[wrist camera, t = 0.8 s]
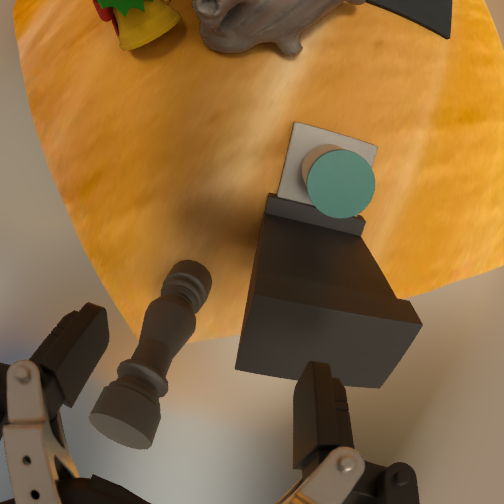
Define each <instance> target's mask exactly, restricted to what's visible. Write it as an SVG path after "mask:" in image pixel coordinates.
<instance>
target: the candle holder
mask: <svg viewBox="0 0 504 504" xmlns="http://www.w3.org/2000/svg"><path fill="white" fill-rule="evenodd" d="M211 284H212V279H211V276H210V273H209V272H208V270H207V269H206V268H205V267H204V266H203V265H201V264H199V263H198V262H195V261H191V260H185V261H180V262H178V263H177V264H175V265H174V266H173V268H172V269H171V271H170V273H169V274H168V276H167V277H166V279H165V281H164V283H163V287H162V289H161V297H159V298H157V299H155V300H154V301H152V302H151V303H150V305H149V306H148V308H147V310H146V312H145V317H144V321H143V326H142V330H141V335H140V340H139V345H138V346H137V348H136V350H135V352H134V354H133V356H132V358H131V359H128V360H125V361H123V362H121V363H120V365H119V367H118V369H117V374H118V377H119V378H118V379H117V380H116V381H113V382H111V383H110V384H109V386H106V387H104V389H103V391H102V392H101V394H100V396H99V398H98V400H97V402H96V404H95V406H94V408H93V410H92V412H91V414H90V416H89V420H90V422H91V424H92V425H93V426H94V427H95V428H96V429H97V430H98V431H99V432H101V433H102V434H103V435H105V436H106V437H108V438H110V439H112V440H114V441H115V442H117V443H120V444H122V445H125V446H127V447H131V448H135V449H148V448H149V447H151V445H152V442H153V439H154V436H155V433H156V430H157V428H158V425H159V422H160V419H161V415H160V403H159V397H163V396H164V395H165V394H166V393H167V392H168V381H167V380H166V374H167V371H168V369H169V366H170V364H171V362H172V359H173V358H174V356H175V355H176V354H177V353H178V352H179V350H180V349H181V348H182V347H183V345H184V344H185V343H186V342H187V341H188V339H189V338H190V337H191V336H192V334H193V333H194V331H195V326H196V317H195V313H197V312H198V311H199V310H200V308H201V307H202V306H203V304H204V303H205V301H206V299H207V297H208V294H209V292H210V289H211Z"/></svg>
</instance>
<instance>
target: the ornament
mask: <svg viewBox="0 0 504 504" xmlns="http://www.w3.org/2000/svg"><path fill="white" fill-rule="evenodd" d="M169 2H170V0H93V3H94V5H95V8H96V10H97V12H98V14H99V16H100V18H101V19H102V20H103V21H106V22H108V21H110V20H111V19H112V23H113V26H114V28H115V31H116V33H117V36H118V38H119V41H120V47H121V49H122V50H124V51H127V50H132V49H135V48H137V47H140V46H142V45H144V44H146V43H148V42H150V41H152V40H154V39H156V38H158V37H159V36H161V35H162V34H164V33H165V32H167V31H168V30H170V29H171V28H172V27H174V26H175V25H176V24H177V23H178V22H179V20H180V19H181V15H180V14H179V12H177V11H175V10H174V9H173V8H172V7H171V6H168V5H167V4H168V3H169ZM113 13H114V14H113Z"/></svg>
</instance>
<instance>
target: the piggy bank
mask: <svg viewBox="0 0 504 504" xmlns="http://www.w3.org/2000/svg"><path fill="white" fill-rule="evenodd" d="M344 1H346V2H348V3H351V4H354V5H361V4H363V3H364V2H365V1H366V0H194V1H193V2H192V4H193V6H192V7H193V8H194V11H195V12H196V14H197V17H198V19H199V20H200V27H199V29H200V35H201V37H202V39H203V40H204V42H205V44H207V46H208V47H209V48H210V49H212V50H213V51H219V52H223V53H228V54H232V53H240V52H244V51H247V50H249V49H251V48H253V47H254V46H255V45H257V44H259V43H265V42H274V43H275V44H276V45H278V47H279V49H280V50H281V51H282V52H283V53H284V54H286V55H288V56H295V55H297V54H299V53H300V52H301V51H302V46H301V44H300V40H299V36H300V34H301V33H302V32H303V31H305V30H306V29H308V28H309V27H311V26H313V25H314V24H315V23H317V22H318V21H320V20H321V19H322V18H323V17H325V16H326V15H327V14H328V13H329V12H330V11H331V10H333V9H334V8H335V7H337V6H338V5H339V4H341V3H342V2H344Z"/></svg>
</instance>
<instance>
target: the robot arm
mask: <svg viewBox="0 0 504 504" xmlns="http://www.w3.org/2000/svg"><path fill="white" fill-rule="evenodd" d="M108 343H109V328H108V320H107V312H106V309H105V308H103V307H101V306H98V305H95V304H92V303H89V302H88V303H86V304H85V305H84V306H83V307H82V309H81V310H80V311H79V312H77V311H75V310H74V311H73V312H71V313H69V314H67V315H66V316H64V317H63V318H62V320H61V321H60V322H59V323H58V324H57V327H55V328H54V329H53V330H52V331H51V334H49V335H48V336H47V338H46V339H45V340H44V341H43V342H42V344H41V345H40V346H39V348H38V349H37V350H36V352H35V353H34V354H33V355H32V357H31V358H30V359H29V360H19V361H17V362H14V363H13V364H12V365H7V364H3V363H0V440H1V438H2V436H3V440H4V447H5V455H6V461H7V466H8V472H9V477H10V482H11V486H12V491H13V495H14V498H13V499H10V500H7V501H4V502H0V504H151V503H149V502H147V501H145V500H143V499H142V498H140V497H138V496H137V495H135V494H133V493H132V492H130V491H129V490H127V489H125V488H124V487H122V486H120V485H117V484H115V483H112V482H110V481H108V480H105V479H103V478H100V477H98V476H96V475H94V474H93V475H92V477H91V479H90V478H79V475H78V472H77V469H76V467H75V464H74V462H73V460H72V458H71V456H70V454H69V450H68V447H67V443H66V438H65V434H64V430H63V425H62V420H61V415H60V411H59V409H60V407H61V406H62V404H64V405H66V406H68V407H70V408H72V406H73V404H74V403H75V401H76V399H77V397H78V395H79V394H80V392H81V390H82V389H83V387H84V385H85V383H86V382H87V380H88V378H89V377H90V375H91V373H92V372H93V370H94V368H95V367H96V365H97V363H98V362H99V360H100V358H101V357H102V355H103V354H104V352H105V350H106V348H107V346H108ZM348 410H349V409H348V403H347V397H346V390H345V388H344V386H343V384H342V383H341V381H340V379H339V378H333V377H332V375H331V368H330V365H329V364H328V363H322V362H316V361H309V362H308V364H307V365H306V367H305V369H304V371H303V373H302V375H301V376H300V378H299V380H298V382H297V384H296V386H295V390H294V396H293V469H298V470H299V469H300V470H302V477H301V478H300V479H299V480H298V482H297V483H296V484H295V485H294V486H293V487H292V488H291V489H290V490H289V491H288V492H287V493H286V494H285V495H284V496H283V497H282V498H281V499H280V500H279V501H278V502H277V503H276V504H420V503H419V494H418V486H417V479H416V474H415V471H414V470H413V469H412V467H411V466H409V465H408V464H406V463H402V462H397V463H394V464H392V465H390V466H389V467H384V466H380V465H377V464H373V463H370V462H367V461H365V460H364V459H363V457H362V455H361V454H360V453H359V452H358V451H357V450H355V448H354V444H353V438H352V437H353V436H352V430H351V422H350V415H349V412H348Z"/></svg>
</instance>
